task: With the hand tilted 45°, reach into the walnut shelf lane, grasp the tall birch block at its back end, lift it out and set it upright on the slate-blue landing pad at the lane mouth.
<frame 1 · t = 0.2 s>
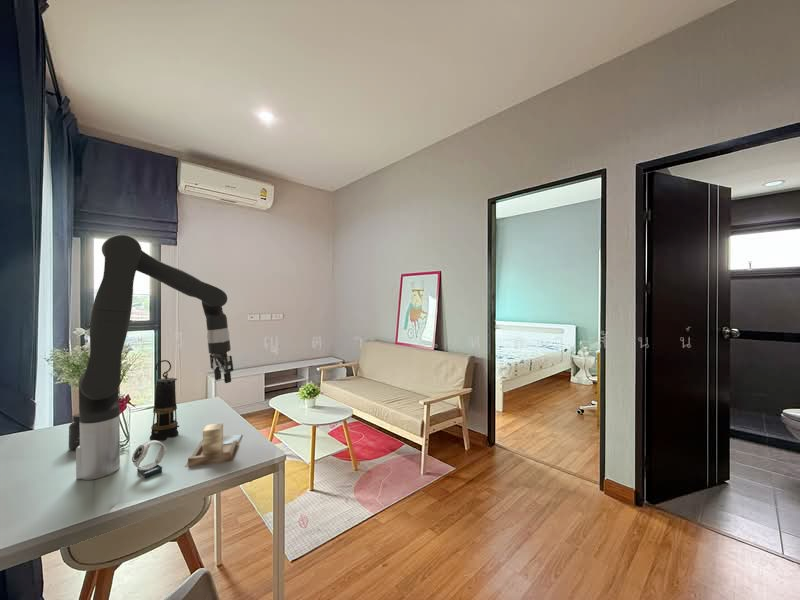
hand: (223, 381, 126), 22 cm above the table, tool pointing down, fingers open, 8 cm apart
birch block: (213, 456, 109), point 1 cm above the table, touching shelf lane
supplement bottle: (82, 447, 118), on the table
lantern: (164, 436, 127), on the table
shelf lane: (216, 453, 114), on the table
watch: (149, 478, 98), on the table
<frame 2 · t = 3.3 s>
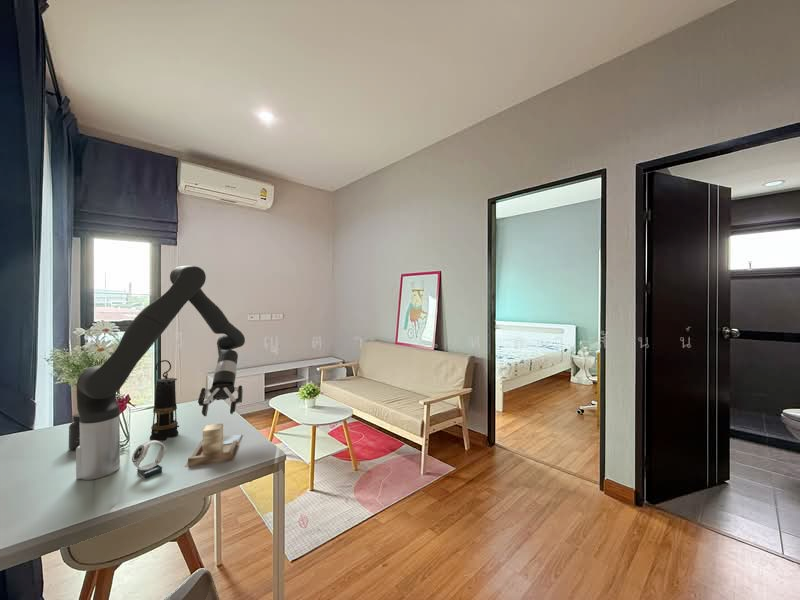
hand: (218, 414, 116), 13 cm above the table, tool tilted 45°, fingers open, 8 cm apart
nothing on the table moved.
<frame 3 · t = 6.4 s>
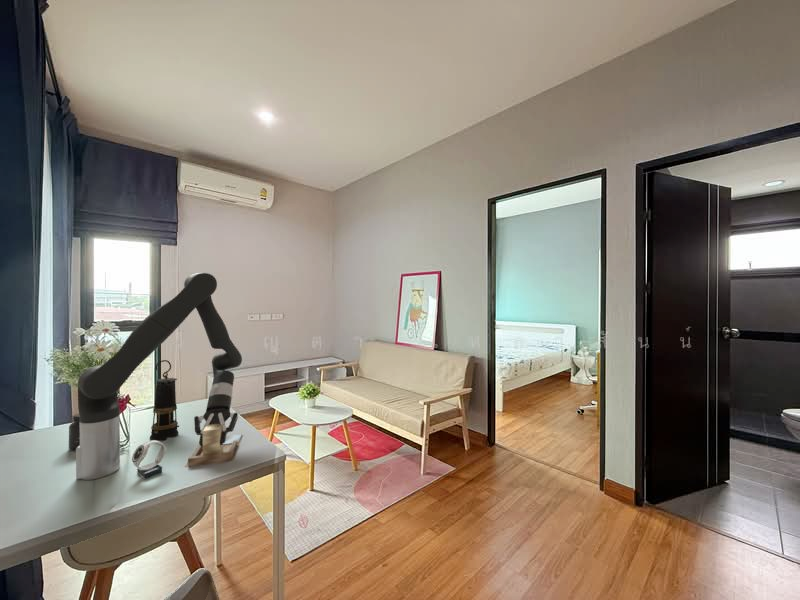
hand: (211, 445, 107), 6 cm above the table, tool tilted 45°, fingers closed on birch block, 5 cm apart
birch block: (213, 456, 109), point 2 cm above the table, touching gripper, shelf lane
everything else where it was.
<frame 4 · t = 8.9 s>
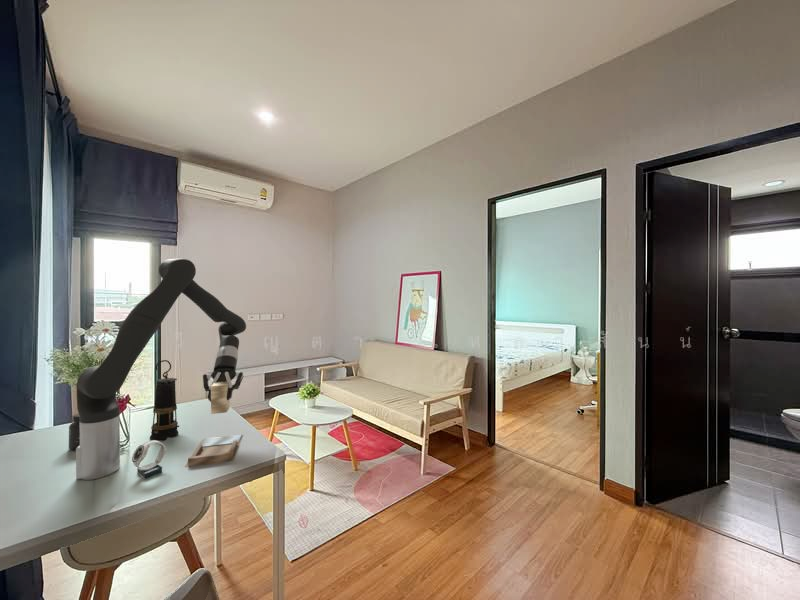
hand: (219, 399, 116), 18 cm above the table, tool tilted 45°, fingers closed on birch block, 5 cm apart
birch block: (220, 410, 118), point 14 cm above the table, touching gripper
everything else where it was.
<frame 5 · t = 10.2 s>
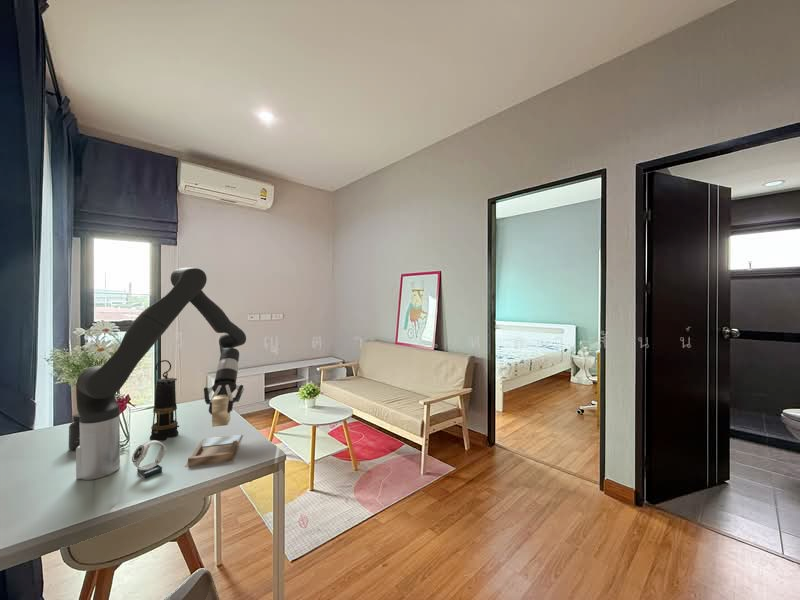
hand: (220, 412, 118), 13 cm above the table, tool tilted 45°, fingers closed on birch block, 5 cm apart
birch block: (221, 423, 120), point 8 cm above the table, touching gripper
everything else where it was.
when the fingers open (8 cm above the table, at t = 11.5 s): birch block drops 1 cm, resting on shelf lane.
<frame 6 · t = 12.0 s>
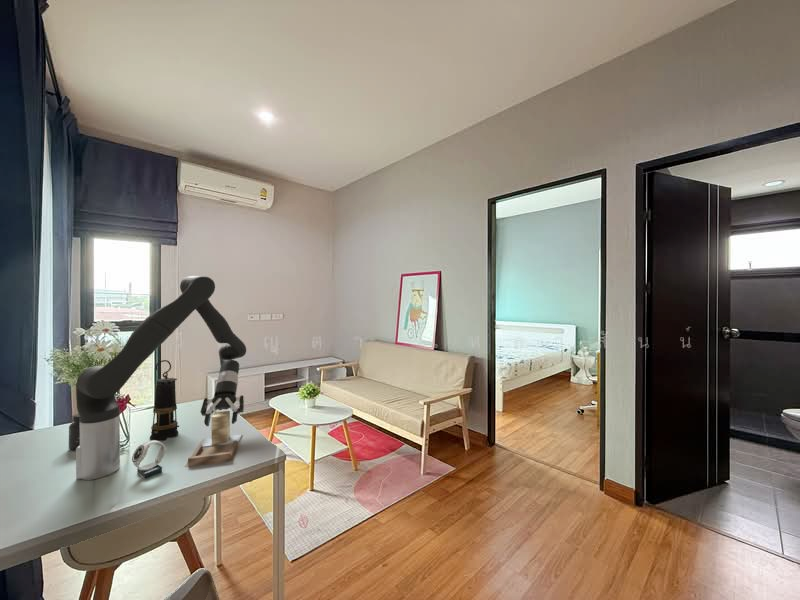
hand: (220, 424, 119), 8 cm above the table, tool tilted 45°, fingers open, 8 cm apart
birch block: (220, 440, 120), point 2 cm above the table, touching shelf lane
everything else where it was.
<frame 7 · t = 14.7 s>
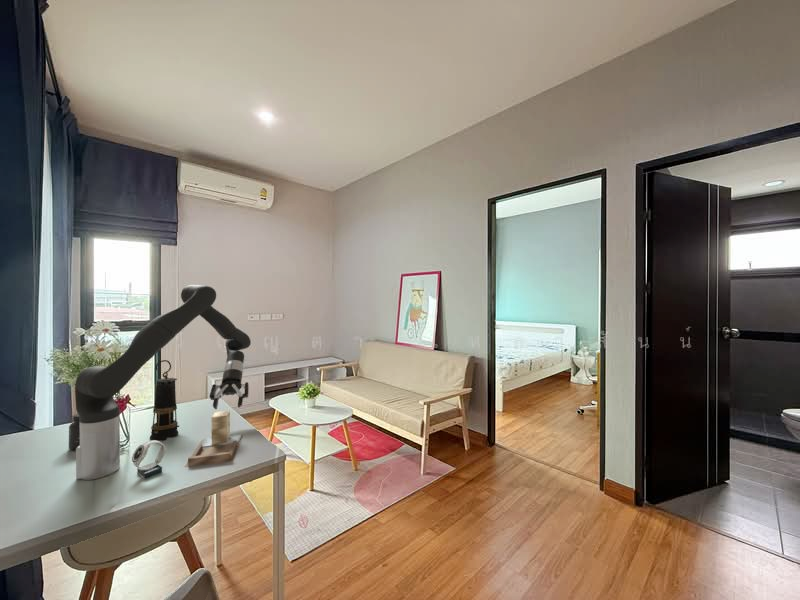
hand: (227, 407, 131), 10 cm above the table, tool tilted 45°, fingers open, 8 cm apart
nothing on the table moved.
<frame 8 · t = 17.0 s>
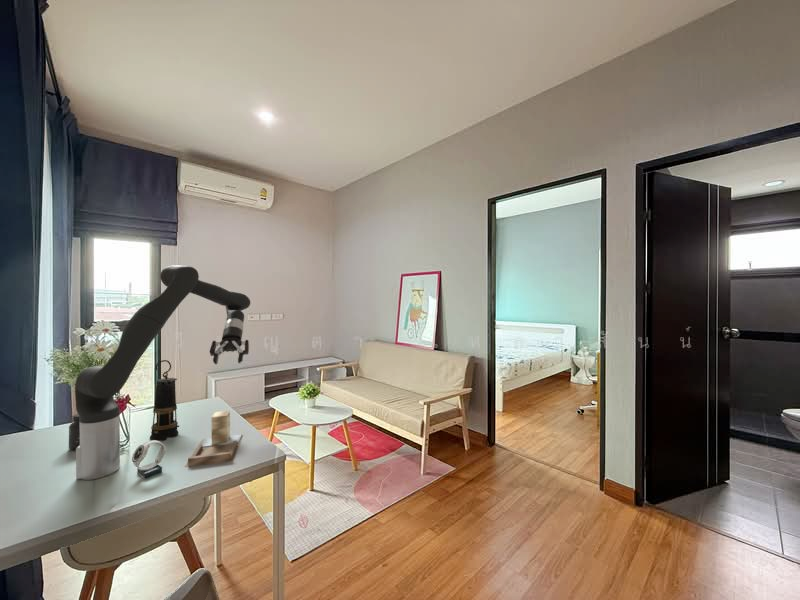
hand: (227, 362, 130), 29 cm above the table, tool tilted 45°, fingers open, 8 cm apart
nothing on the table moved.
at the end: birch block inside the target area (0.2 cm from its centre), point 1.8 cm above the table; birch block tilted 0°; the gripper is holding nothing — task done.
